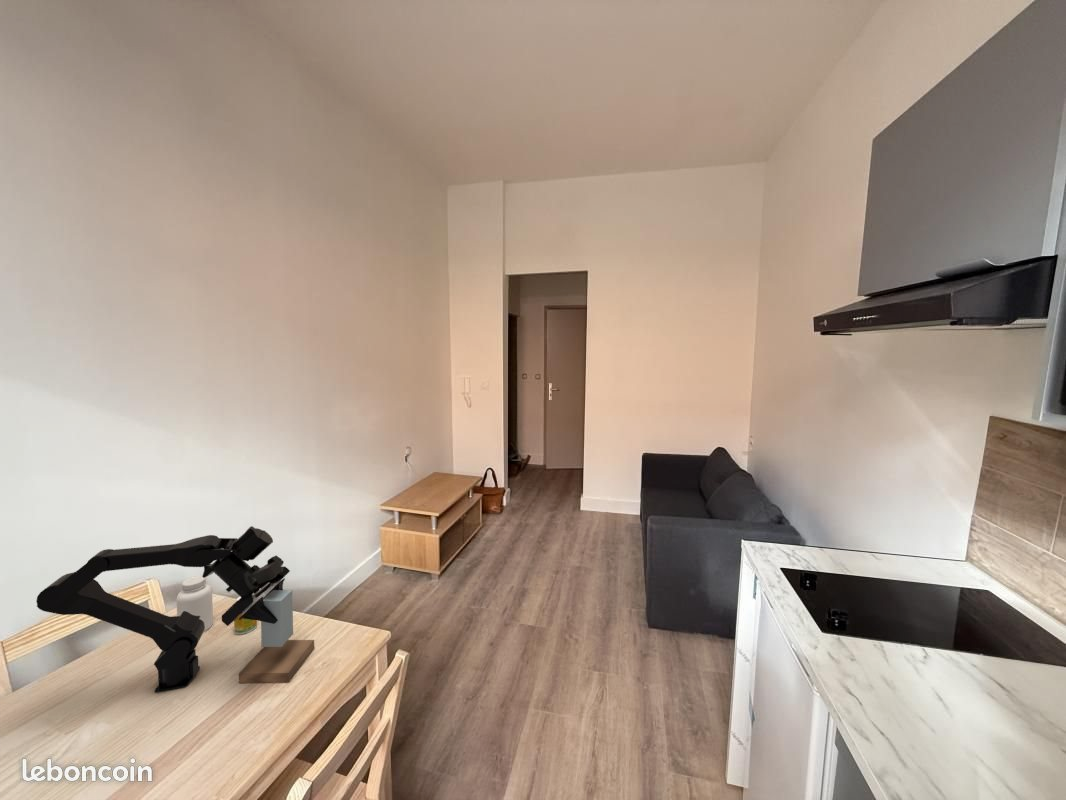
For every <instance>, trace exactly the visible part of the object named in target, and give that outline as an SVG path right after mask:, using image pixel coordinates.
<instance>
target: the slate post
mask: <svg viewBox="0 0 1066 800" xmlns="http://www.w3.org/2000/svg"><path fill="white" fill-rule="evenodd" d="M265 596H266V595H265ZM265 596H263V602H264V605H265V606H266V607H267V608H268V609H269V611H270V612H271V613H272V614H273V615H274V616H275V617H276V618H277V620H278V621H277V622H276V623H275V624H272V623H267V622H262V621H260V634H261V635H260V637H261V644H260V645H261V648H263V647H282V646H283V645H284V644H285V643H286V641H287V640H290V638H291V637H292V636H293V635H294V613H293V612H294V611H293V610H294V609H293V604H294V603H293V589H283V590H273V591H271V592H270V593H269V594H268V595H267V596H266V597H265Z"/></svg>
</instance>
